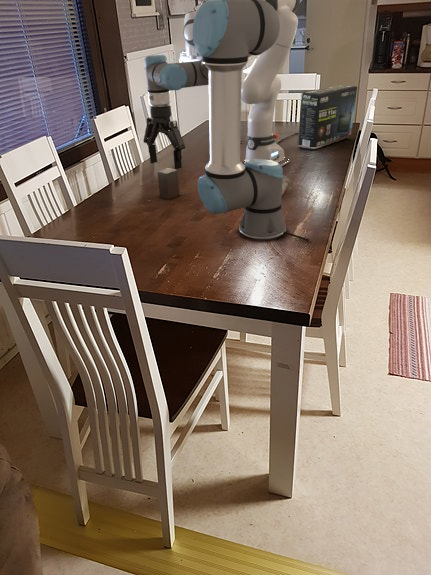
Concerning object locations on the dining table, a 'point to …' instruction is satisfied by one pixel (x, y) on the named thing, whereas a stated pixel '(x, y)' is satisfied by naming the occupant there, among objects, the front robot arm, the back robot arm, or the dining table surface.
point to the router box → (326, 115)
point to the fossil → (285, 183)
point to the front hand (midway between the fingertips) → (165, 165)
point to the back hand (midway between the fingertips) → (196, 82)
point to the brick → (168, 183)
